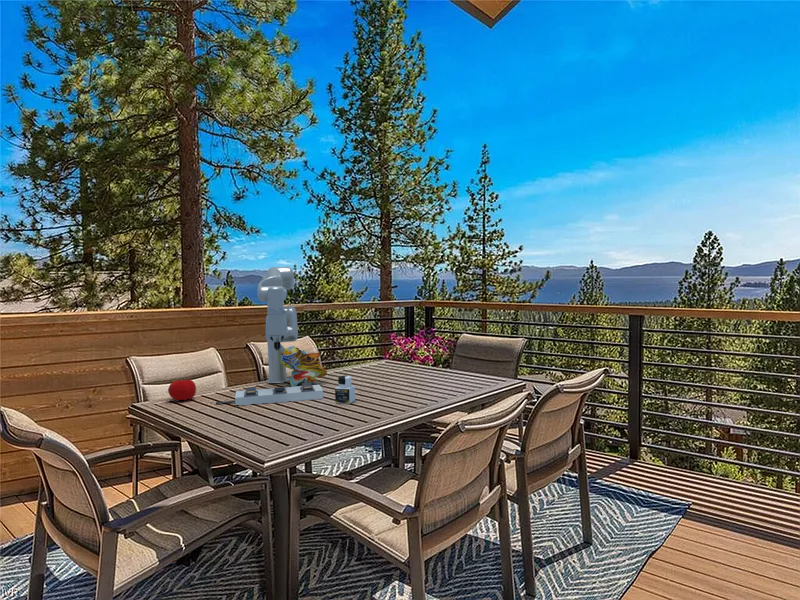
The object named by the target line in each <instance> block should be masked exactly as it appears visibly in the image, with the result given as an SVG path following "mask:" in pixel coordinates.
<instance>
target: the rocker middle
mask: <svg viewBox="0 0 800 600" xmlns="http://www.w3.org/2000/svg"><path fill="white" fill-rule="evenodd" d="M284 387H285V386H281V387H273V388H274V389H275V391H283V390H285V388H284Z"/></svg>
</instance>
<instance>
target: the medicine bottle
mask: <svg viewBox="0 0 800 600" xmlns="http://www.w3.org/2000/svg"><path fill="white" fill-rule="evenodd" d="M337 381H338V382H337V383H338V385H337V386H336V387H335V388H334V397H335V398H334V399H335V400H334V401H335V402H334V403H335V404H343V405H344V404H345V405H347V404H348V405H349V404H350V405H351V404H352V403H353V402H355V401H356V386H355V385H352V376H350V375H340V376H339V377H338V379H337Z"/></svg>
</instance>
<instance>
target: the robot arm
mask: <svg viewBox="0 0 800 600" xmlns="http://www.w3.org/2000/svg"><path fill="white" fill-rule="evenodd" d="M294 281H295V275H294V271H293V268H291V267H290V266H274V267H273V266H272V267H269V268H268V269H267V271H266V273H265V275H264V276H262V278H261V281H260V282H259V283H258V285H257V291H256V292H257V293H256V294H257V300H258V301H260V302H262V303H263V302H264V303H265V302H266V304H267V305H266V306H267V315H266V318H265V339H266V344H267V360H268V361H267V363H268V379H266V380H265V382H269V383H280V384H284V382H286V383H288V381H289V382H290V377H289V378H288V377H287V368H286V367H282V366H283V364H281V362H280V358H281V355H282V353H283V351H285V349H286V348H285V347H284V346H283V344H281V343H291V342H293V343H294V342H296V341H297V340H298V338H299V328H298V314H297V309H296V308H295V306H290V305H288V306H287V305H284V301H285V300H286V299H287V297H288V292H287V290H292V289H293V287H294ZM269 383H268V384H269Z"/></svg>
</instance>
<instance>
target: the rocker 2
mask: <svg viewBox="0 0 800 600" xmlns="http://www.w3.org/2000/svg"><path fill="white" fill-rule="evenodd" d="M312 385H313V383H312V384H311V382H310V383H305V382H302V383H301V386H302V388H303V391H304V390H313V388H312Z"/></svg>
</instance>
